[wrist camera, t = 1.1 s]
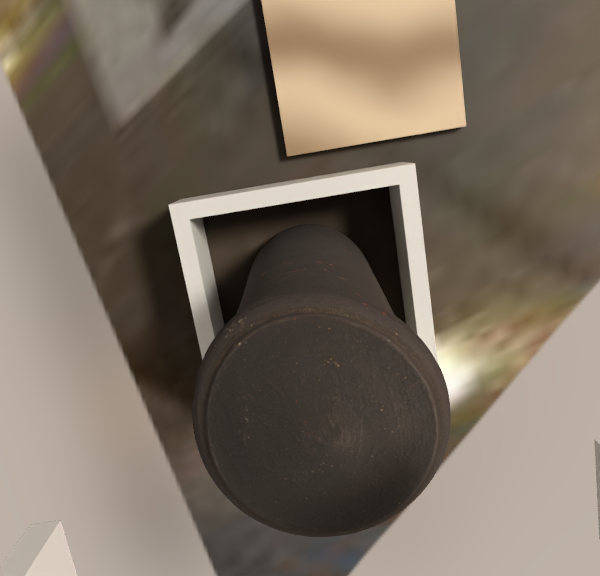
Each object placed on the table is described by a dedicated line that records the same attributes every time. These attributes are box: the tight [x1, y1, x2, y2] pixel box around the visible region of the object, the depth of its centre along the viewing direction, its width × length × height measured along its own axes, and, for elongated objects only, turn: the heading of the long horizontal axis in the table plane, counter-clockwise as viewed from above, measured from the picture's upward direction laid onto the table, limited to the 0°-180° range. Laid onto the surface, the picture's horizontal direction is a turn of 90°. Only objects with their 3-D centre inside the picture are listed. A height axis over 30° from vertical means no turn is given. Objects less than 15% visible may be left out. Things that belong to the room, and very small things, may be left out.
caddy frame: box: [169, 162, 438, 363], centre depth 35 cm, size 14×14×4 cm
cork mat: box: [261, 0, 466, 156], centre depth 33 cm, size 11×11×1 cm
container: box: [192, 224, 450, 537], centre depth 27 cm, size 9×9×20 cm
